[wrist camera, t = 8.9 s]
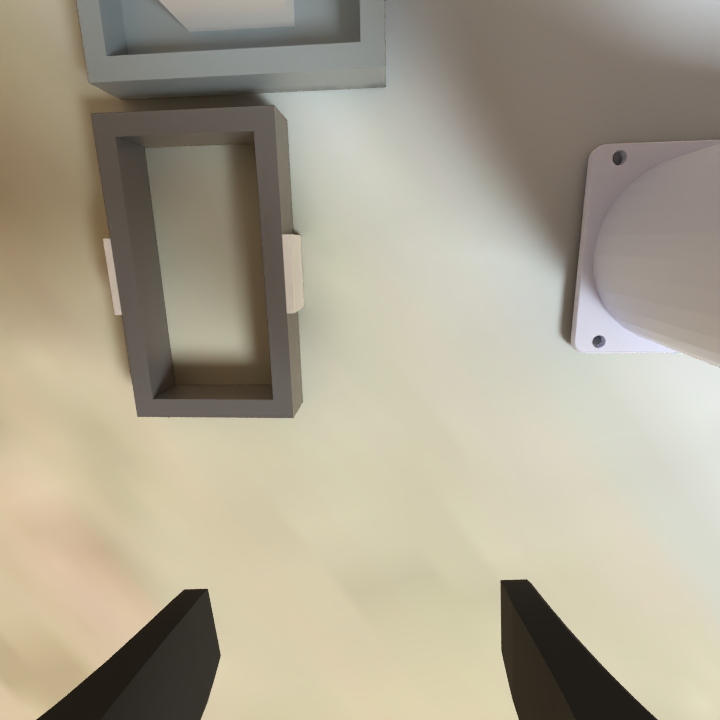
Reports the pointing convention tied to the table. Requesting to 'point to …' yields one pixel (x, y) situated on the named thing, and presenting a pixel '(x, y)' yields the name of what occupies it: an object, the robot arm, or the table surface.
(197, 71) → the tray
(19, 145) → the table surface
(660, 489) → the table surface
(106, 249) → the frame
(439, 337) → the table surface
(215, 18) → the beige teal carton
